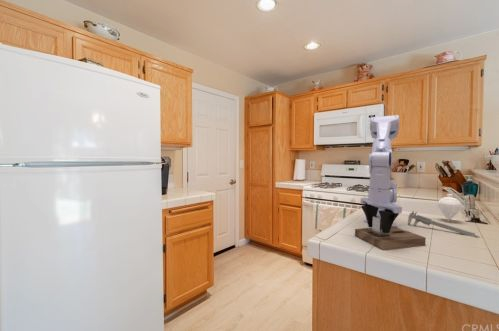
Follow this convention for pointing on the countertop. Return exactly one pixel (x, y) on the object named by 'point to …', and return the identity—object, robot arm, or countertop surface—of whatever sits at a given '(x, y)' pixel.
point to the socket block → (391, 238)
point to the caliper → (437, 224)
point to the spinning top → (449, 206)
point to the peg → (377, 227)
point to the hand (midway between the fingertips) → (378, 229)
